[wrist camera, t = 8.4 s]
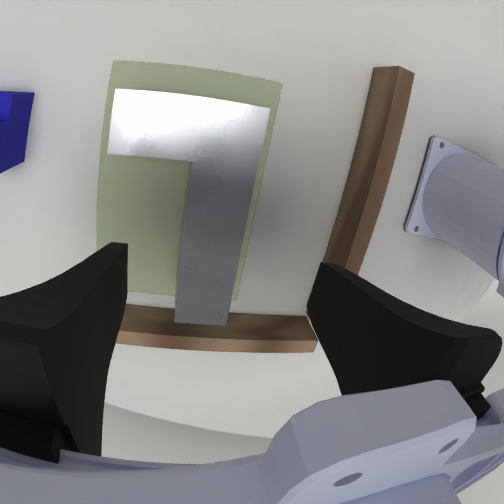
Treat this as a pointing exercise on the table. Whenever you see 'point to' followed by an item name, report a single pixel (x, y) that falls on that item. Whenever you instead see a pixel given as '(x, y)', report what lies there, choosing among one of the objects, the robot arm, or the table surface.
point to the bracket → (199, 184)
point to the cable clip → (14, 127)
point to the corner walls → (338, 252)
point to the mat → (165, 173)
